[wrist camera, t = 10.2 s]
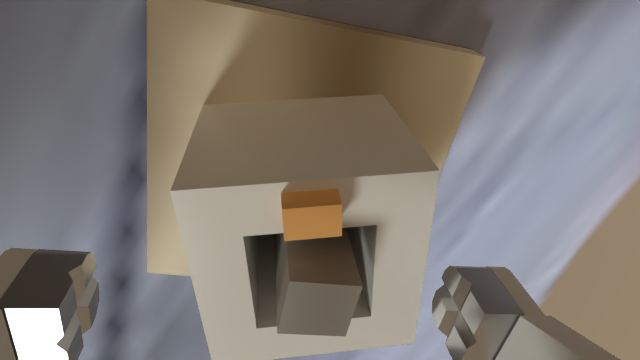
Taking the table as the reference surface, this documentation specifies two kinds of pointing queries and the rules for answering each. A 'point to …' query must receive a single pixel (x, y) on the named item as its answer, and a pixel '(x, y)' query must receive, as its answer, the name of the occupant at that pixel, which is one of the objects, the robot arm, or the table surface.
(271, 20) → the shaft block
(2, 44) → the table surface
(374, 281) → the beige hollow cube
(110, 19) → the table surface
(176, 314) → the table surface
